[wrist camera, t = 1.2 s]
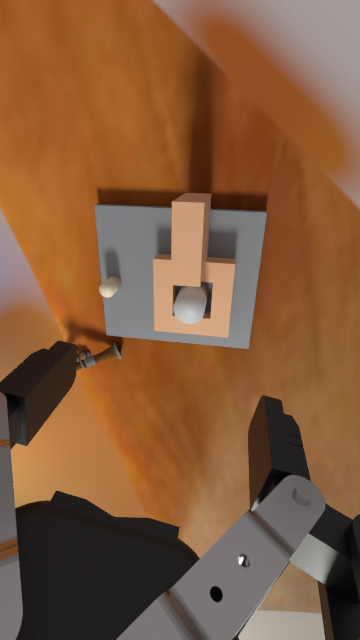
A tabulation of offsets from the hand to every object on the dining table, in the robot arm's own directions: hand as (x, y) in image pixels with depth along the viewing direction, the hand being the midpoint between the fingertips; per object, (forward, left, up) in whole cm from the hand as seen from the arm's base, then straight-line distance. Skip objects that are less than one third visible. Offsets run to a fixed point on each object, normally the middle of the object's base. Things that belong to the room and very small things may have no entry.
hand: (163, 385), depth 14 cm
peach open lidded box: (+1, +1, -21) cm, 22 cm away
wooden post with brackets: (+14, +14, -23) cm, 31 cm away
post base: (+3, +3, -23) cm, 23 cm away
